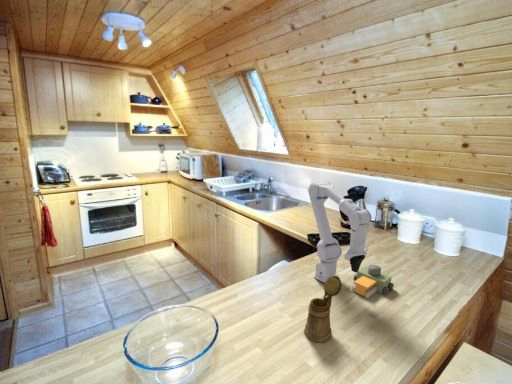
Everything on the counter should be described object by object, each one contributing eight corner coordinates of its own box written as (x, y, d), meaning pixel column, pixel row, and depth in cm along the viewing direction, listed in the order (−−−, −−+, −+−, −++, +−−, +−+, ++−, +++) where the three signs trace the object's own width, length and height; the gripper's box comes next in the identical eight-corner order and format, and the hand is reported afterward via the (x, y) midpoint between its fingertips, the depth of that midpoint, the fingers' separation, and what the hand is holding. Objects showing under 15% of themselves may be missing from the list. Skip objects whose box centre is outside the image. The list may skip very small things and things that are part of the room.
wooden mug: (345, 329, 99) (349, 280, 95) (319, 347, 91) (323, 295, 87) (323, 316, 106) (327, 270, 102) (298, 331, 97) (301, 282, 93)
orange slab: (366, 297, 118) (367, 287, 117) (352, 290, 122) (353, 281, 121) (375, 290, 123) (376, 281, 122) (362, 284, 127) (363, 275, 126)
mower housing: (376, 302, 115) (378, 282, 113) (343, 287, 125) (345, 269, 123) (393, 288, 125) (395, 270, 123) (362, 276, 135) (364, 259, 133)
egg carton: (302, 239, 180) (303, 234, 179) (341, 233, 191) (342, 228, 191) (319, 250, 164) (320, 244, 163) (360, 243, 176) (361, 237, 175)
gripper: (357, 247, 107) (354, 280, 110) (376, 238, 117) (372, 269, 120) (341, 241, 112) (338, 273, 115) (360, 233, 122) (357, 263, 125)
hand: (354, 271), depth 118 cm, fingers closed
